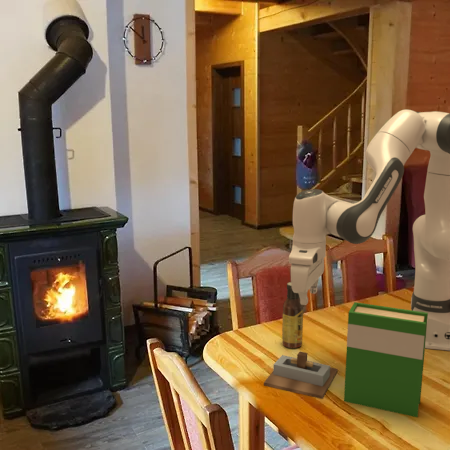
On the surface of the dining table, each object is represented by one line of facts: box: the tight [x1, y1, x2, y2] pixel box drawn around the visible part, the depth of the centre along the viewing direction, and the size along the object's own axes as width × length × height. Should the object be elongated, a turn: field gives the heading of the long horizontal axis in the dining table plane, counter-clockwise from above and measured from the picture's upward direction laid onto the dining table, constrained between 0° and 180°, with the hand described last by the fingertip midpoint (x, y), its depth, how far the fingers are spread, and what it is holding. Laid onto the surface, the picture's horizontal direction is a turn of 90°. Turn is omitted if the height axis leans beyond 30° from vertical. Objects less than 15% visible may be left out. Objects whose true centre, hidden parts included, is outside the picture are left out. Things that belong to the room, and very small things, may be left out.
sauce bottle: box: [281, 281, 304, 349], centre depth 167 cm, size 7×6×20 cm
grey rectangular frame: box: [272, 354, 331, 387], centre depth 149 cm, size 14×6×3 cm, turn 62°
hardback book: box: [343, 301, 428, 418], centre depth 135 cm, size 18×7×24 cm, turn 66°
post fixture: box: [263, 351, 338, 400], centre depth 148 cm, size 16×16×7 cm
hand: (308, 298), depth 150 cm, fingers open, 8 cm apart
